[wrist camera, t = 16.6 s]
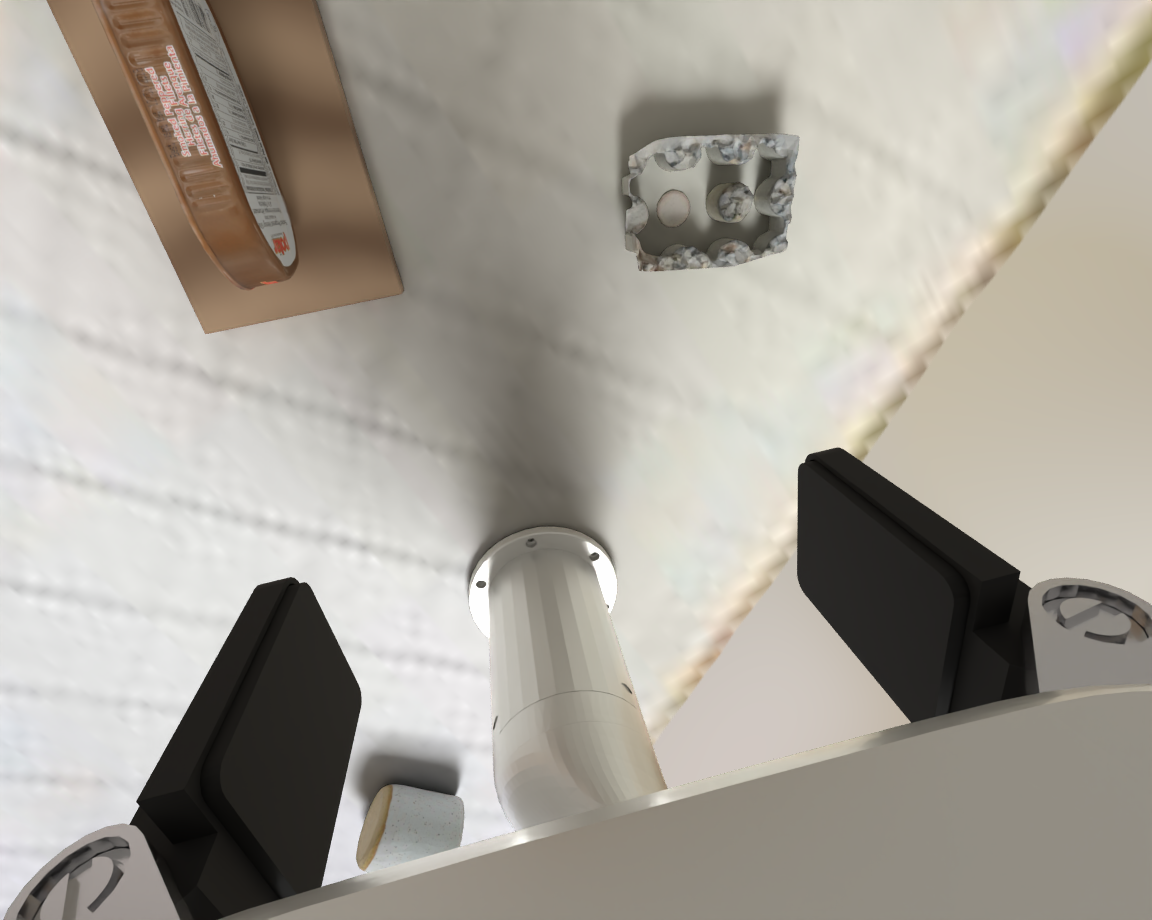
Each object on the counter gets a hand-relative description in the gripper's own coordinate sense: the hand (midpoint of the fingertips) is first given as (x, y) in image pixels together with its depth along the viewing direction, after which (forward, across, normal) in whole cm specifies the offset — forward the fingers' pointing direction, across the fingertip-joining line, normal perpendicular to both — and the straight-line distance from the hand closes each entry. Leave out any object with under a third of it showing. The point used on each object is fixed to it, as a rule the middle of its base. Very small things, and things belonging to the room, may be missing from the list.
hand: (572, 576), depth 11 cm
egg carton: (+31, -14, -4) cm, 34 cm away
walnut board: (+30, +12, -12) cm, 35 cm away
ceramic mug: (+31, +20, +47) cm, 60 cm away
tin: (+29, +12, -12) cm, 33 cm away
